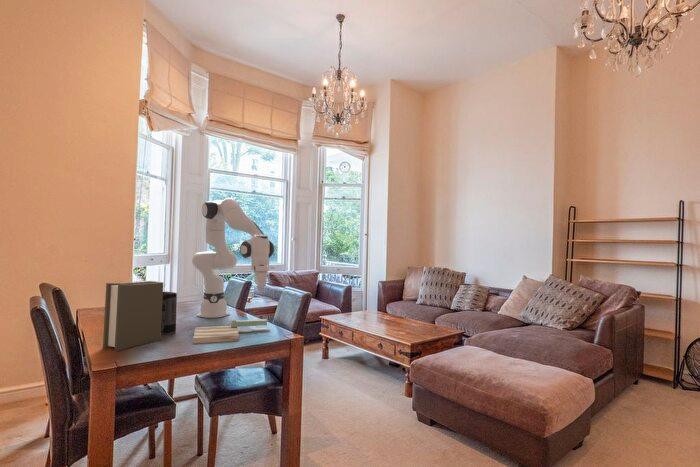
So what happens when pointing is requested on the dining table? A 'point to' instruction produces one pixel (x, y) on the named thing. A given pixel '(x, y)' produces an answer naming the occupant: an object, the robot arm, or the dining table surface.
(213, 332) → the wooden cutting board
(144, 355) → the dining table surface
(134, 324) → the book
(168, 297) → the electronic device
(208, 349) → the dining table surface
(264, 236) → the robot arm
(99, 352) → the dining table surface
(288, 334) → the dining table surface
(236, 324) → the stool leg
